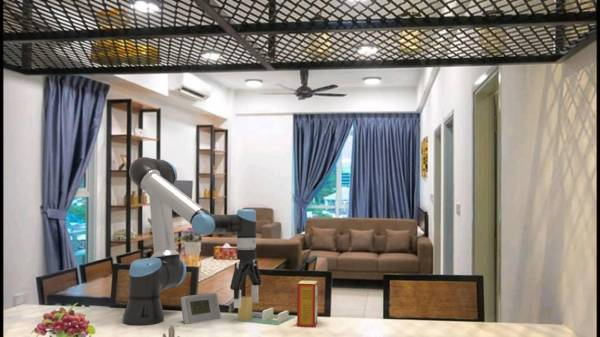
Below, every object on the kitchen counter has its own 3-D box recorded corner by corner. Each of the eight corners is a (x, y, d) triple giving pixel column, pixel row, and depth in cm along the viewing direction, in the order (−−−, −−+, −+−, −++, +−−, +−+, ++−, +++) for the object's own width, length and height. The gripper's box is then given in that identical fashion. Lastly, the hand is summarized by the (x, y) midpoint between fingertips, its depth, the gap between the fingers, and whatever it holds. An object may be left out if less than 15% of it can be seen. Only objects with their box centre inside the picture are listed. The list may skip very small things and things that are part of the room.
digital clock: (183, 328, 174) (184, 298, 176) (175, 323, 182) (176, 294, 183) (225, 323, 183) (225, 294, 184) (215, 319, 191) (216, 291, 192)
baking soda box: (300, 321, 188) (301, 279, 189) (317, 322, 187) (317, 279, 189) (297, 326, 178) (297, 282, 180) (314, 327, 178) (314, 283, 179)
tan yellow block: (237, 319, 184) (238, 297, 185) (243, 317, 188) (243, 295, 189) (247, 320, 183) (247, 298, 184) (252, 318, 186) (252, 296, 187)
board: (229, 323, 183) (230, 310, 183) (251, 315, 198) (251, 303, 199) (277, 328, 175) (277, 315, 175) (296, 319, 190) (296, 307, 191)
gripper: (238, 250, 175) (238, 311, 173) (269, 247, 198) (269, 300, 196) (221, 250, 178) (220, 309, 176) (253, 247, 201) (253, 299, 199)
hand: (246, 305), depth 186 cm, fingers open, 13 cm apart
